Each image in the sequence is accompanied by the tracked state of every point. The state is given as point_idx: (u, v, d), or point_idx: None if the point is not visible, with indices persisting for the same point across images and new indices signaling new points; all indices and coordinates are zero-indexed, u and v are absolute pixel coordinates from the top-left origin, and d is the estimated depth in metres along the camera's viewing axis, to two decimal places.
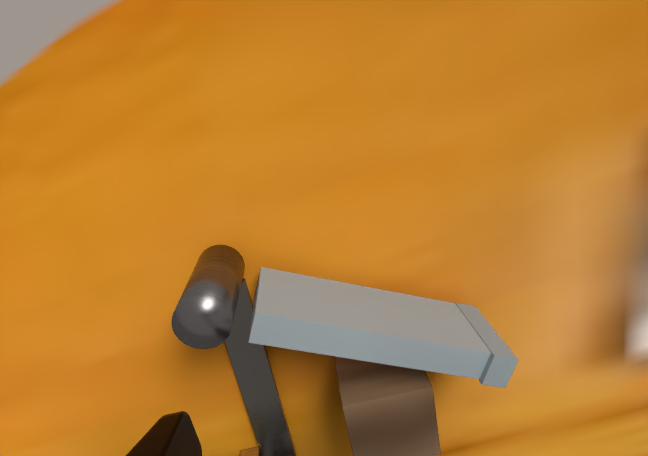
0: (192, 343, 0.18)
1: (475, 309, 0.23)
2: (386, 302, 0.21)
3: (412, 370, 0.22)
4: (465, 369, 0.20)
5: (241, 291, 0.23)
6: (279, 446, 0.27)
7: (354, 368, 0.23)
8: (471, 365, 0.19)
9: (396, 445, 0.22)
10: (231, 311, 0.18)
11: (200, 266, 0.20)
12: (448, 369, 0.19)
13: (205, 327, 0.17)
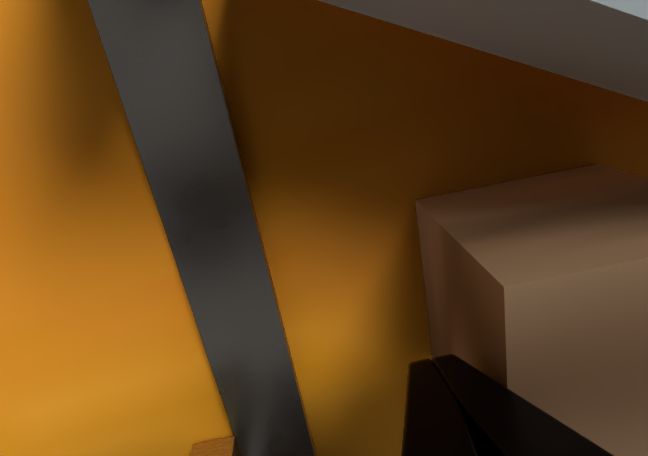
0: None
1: None
2: None
3: None
4: None
5: None
6: (281, 435, 0.12)
7: (491, 216, 0.08)
8: None
9: (641, 428, 0.07)
10: None
11: None
12: None
13: None
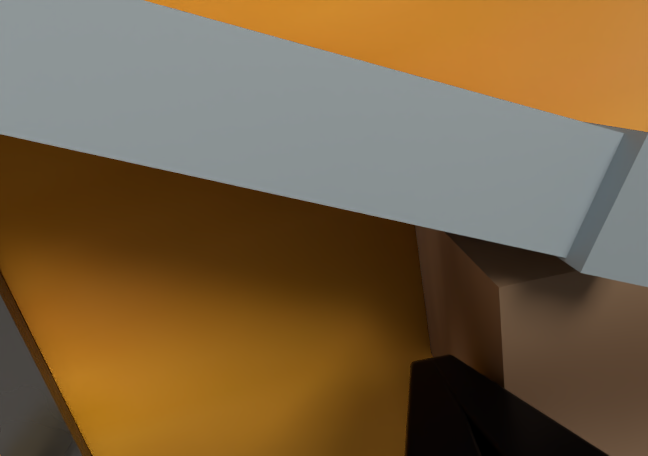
0: None
1: None
2: None
3: None
4: (514, 211, 0.05)
5: None
6: None
7: None
8: (540, 192, 0.05)
9: (642, 428, 0.07)
10: None
11: None
12: (444, 208, 0.05)
13: None
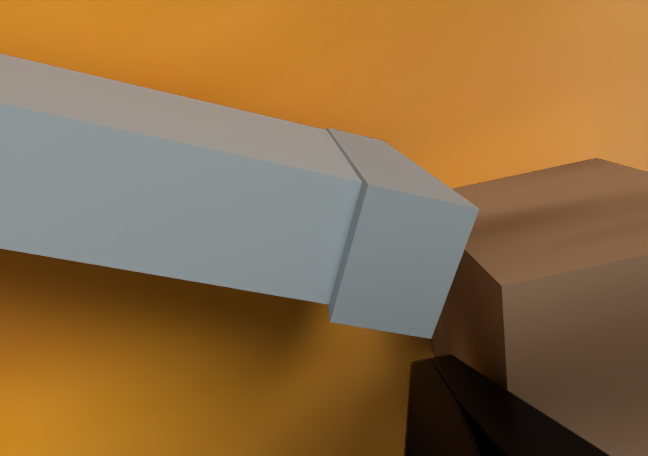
0: None
1: (379, 141, 0.08)
2: (67, 78, 0.07)
3: None
4: (261, 260, 0.05)
5: None
6: None
7: (489, 214, 0.08)
8: (286, 240, 0.05)
9: (645, 426, 0.07)
10: None
11: None
12: (187, 259, 0.05)
13: None
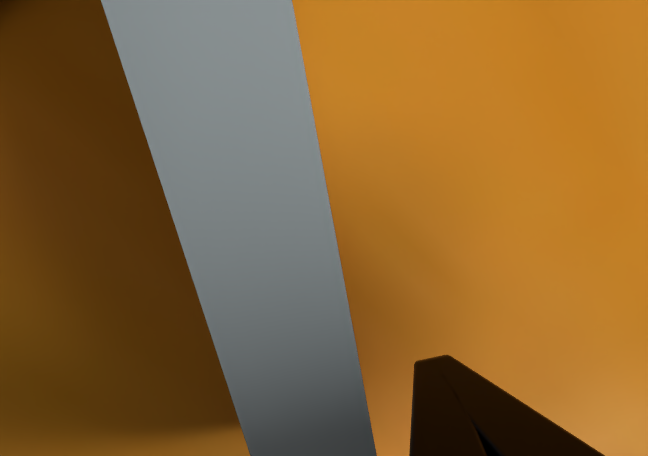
0: None
1: None
2: None
3: None
4: None
5: None
6: None
7: None
8: None
9: None
10: None
11: None
12: None
13: None
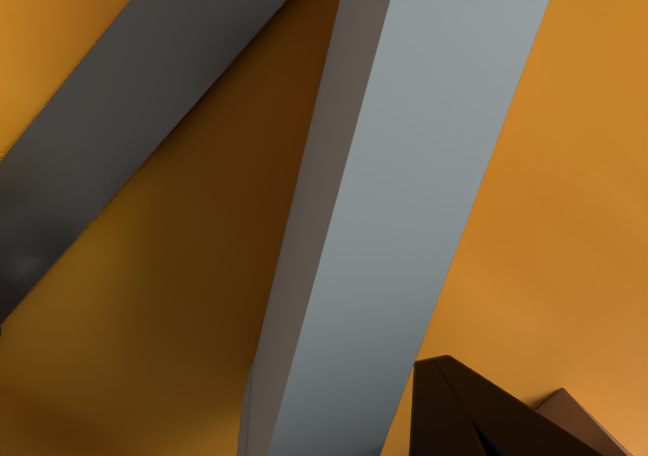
0: None
1: None
2: None
3: None
4: None
5: None
6: (18, 245, 0.09)
7: (628, 455, 0.11)
8: None
9: None
10: None
11: None
12: None
13: None
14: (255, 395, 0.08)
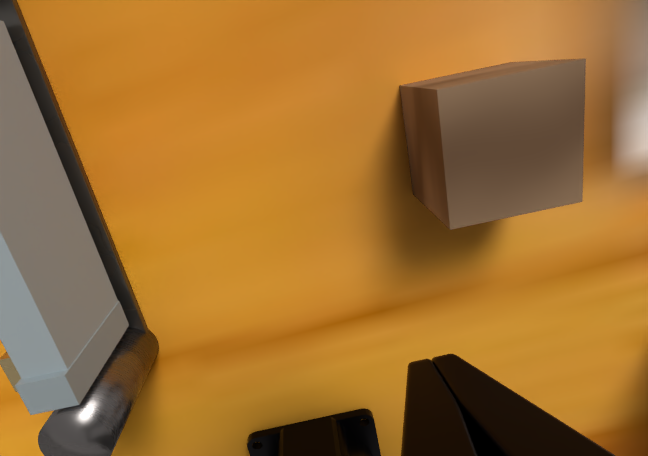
0: None
1: (124, 326, 0.18)
2: (61, 215, 0.15)
3: (539, 63, 0.14)
4: (22, 354, 0.13)
5: (5, 8, 0.14)
6: None
7: (440, 81, 0.15)
8: (34, 358, 0.14)
9: (515, 179, 0.14)
10: None
11: None
12: (6, 334, 0.13)
13: None
14: None
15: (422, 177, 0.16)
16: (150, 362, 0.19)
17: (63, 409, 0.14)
